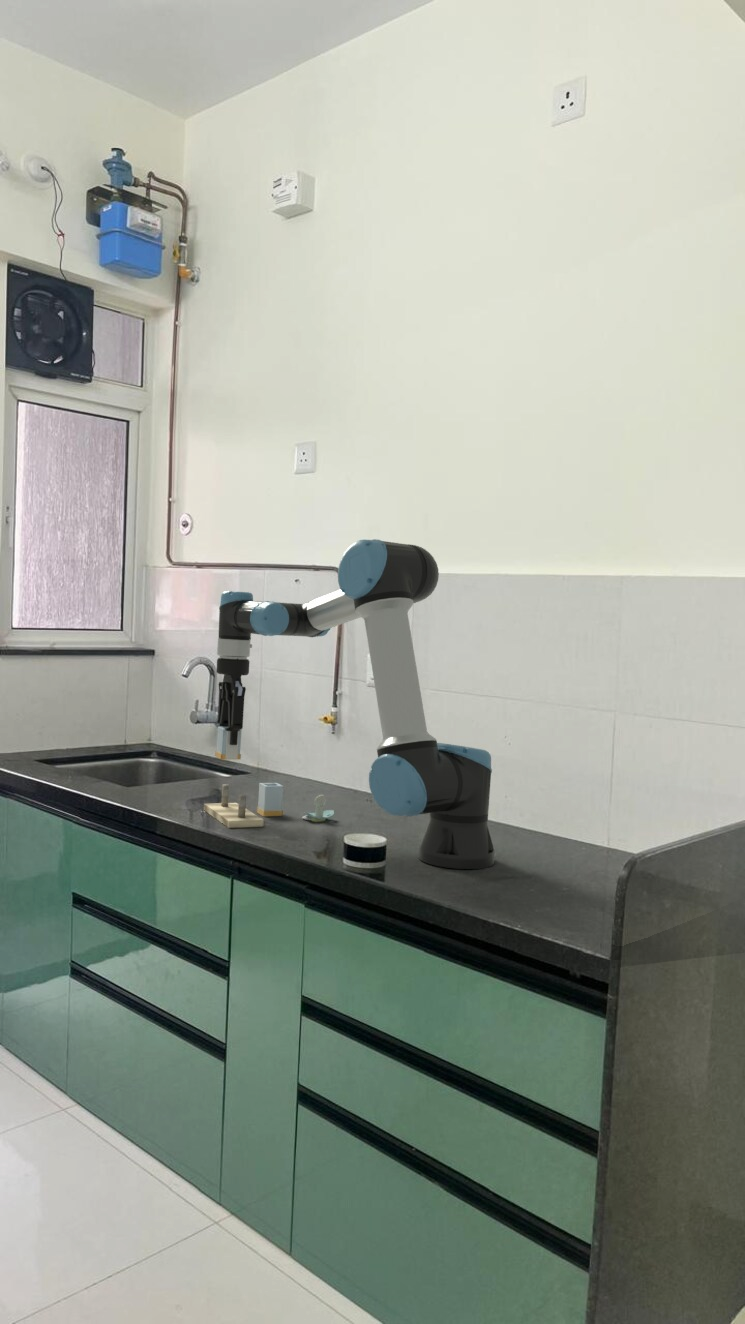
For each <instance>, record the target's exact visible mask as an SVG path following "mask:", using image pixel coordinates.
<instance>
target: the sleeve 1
mask: <svg viewBox="0 0 745 1324" xmlns="http://www.w3.org/2000/svg"><path fill="white" fill-rule="evenodd" d="M226 728H228V727H220V726H217V733H216V750H215V757H217V759H220V760H221V761H222V760H224V761H225V760H227V761H228V759H225V753H226V735H227V731H226V730H225V729H226ZM241 741H242V729H240V731H239V739H238V757H237V759H236V760H241V757H242V756H241V755H242V754H241Z"/></svg>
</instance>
